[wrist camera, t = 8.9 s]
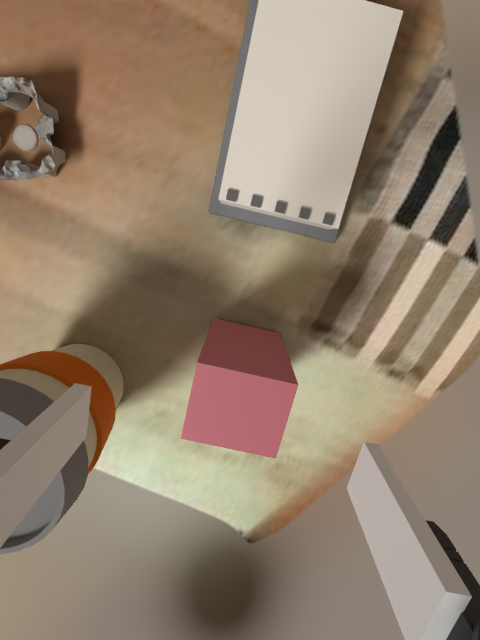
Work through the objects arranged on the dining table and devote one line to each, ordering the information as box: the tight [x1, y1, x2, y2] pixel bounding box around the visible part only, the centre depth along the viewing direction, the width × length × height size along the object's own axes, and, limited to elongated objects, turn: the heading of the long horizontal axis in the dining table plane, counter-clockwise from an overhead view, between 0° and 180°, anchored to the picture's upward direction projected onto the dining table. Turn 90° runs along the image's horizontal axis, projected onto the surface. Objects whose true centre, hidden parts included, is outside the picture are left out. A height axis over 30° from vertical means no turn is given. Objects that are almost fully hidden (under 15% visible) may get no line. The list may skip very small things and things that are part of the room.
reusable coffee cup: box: [0, 344, 124, 554], centre depth 28 cm, size 13×13×15 cm
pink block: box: [181, 318, 298, 458], centre depth 28 cm, size 6×7×12 cm
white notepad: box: [209, 0, 403, 243], centre depth 27 cm, size 17×12×5 cm
